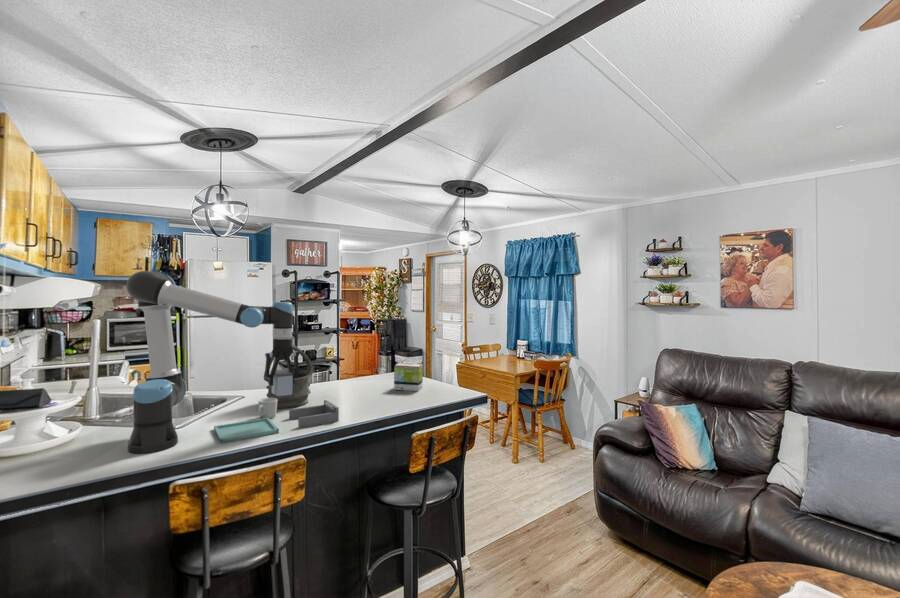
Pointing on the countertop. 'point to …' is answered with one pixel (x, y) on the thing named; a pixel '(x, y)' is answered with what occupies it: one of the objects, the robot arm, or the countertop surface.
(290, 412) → the tray
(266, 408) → the cup
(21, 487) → the countertop surface
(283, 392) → the block
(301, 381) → the dark handled basket
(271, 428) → the tray
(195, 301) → the robot arm
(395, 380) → the tea box
